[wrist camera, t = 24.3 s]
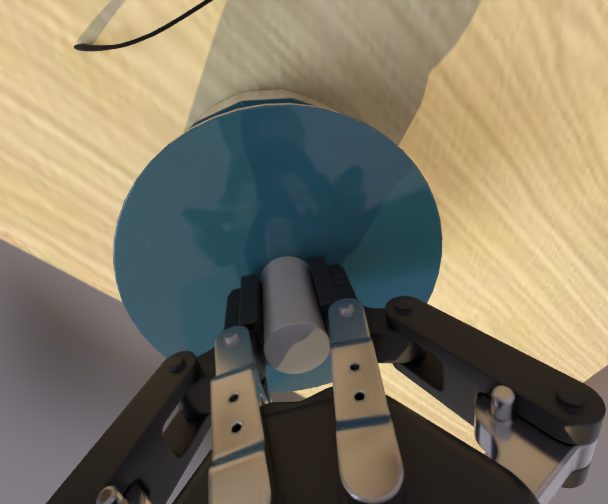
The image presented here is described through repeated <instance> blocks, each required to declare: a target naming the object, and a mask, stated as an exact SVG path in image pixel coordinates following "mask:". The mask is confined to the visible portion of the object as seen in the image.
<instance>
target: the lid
mask: <svg viewBox="0 0 608 504" xmlns="http://www.w3.org/2000/svg"><path fill="white" fill-rule="evenodd" d="M321 256H323V257H324V260H325V263H326V265H327V266H328V265H332V264H336V263H337V264H339V265H340V266H342V267H343V268H344V270H345V272H346V274H347V276H348V279H349V281H350V283H351V286H352V288H353V290H354V292H355V295H356V297H357V299H358V300H359V301H360V302H361V303H362V304H363V305H364V306H366V307H370V308H385V306H386V304H387V302H388V301H389V300H391V299H393V298H395V297H399V296H411V297H414V298H417V299H419V300H421V301H423V302H425V303H428V300H429V298H430V296H431V294H432V292H433V289H434V286H435V283H436V280H437V277H438V274H439V268H440V263H441V257H442V231H441V222H440V217H439V213H438V209H437V205H436V202H435V199H434V197H433V194H432V192H431V190H430V188H429V185H428V183H427V181H426V180H425V178H424V177H423V175H422V174H421V172H420V171H419V169H418V167H417V166H416V165H415V163H414V162H413V161H412V160H411V159H410V158H409V157H408V156H407V154H406V153H405V152H404V151H403V150H402V149H401V148H400V147H399V146H397V145H396V144H395V143H394V142H393V141H391V140H390V139H389V138H388V137H387V136H385V135H384V134H382V133H381V132H379V131H377V130H376V129H374V128H372V127H371V126H369V125H367V124H366V123H364V122H362V121H360V120H358V119H355V118H353V117H350V116H348V115H346V114H343V113H341V112H338V111H334V110H330V109H326V108H322V107H318V106H313V105H304V104H294V103H277V104H261V105H255V106H250V107H244V108H239V109H235V110H232V111H229V112H226V113H223V114H220V115H217V116H214V117H212V118H210V119H208V120H206V121H204V122H202V123H200V124H198V125H196V126H194V127H192V128H190V129H189V130H187V131H186V132H185V133H183V134H182V135H180V136H179V137H177V138H176V139H174V140H173V141H172V142H170V143H169V144H168V145H167V146H166V147H165V148H164V149H163V150H162V151H161V152H160V153H159V154H158V155H157V156H156V157H154V158H153V159H152V160H151V161H150V162H149V164H148V165H147V166H146V168H145V169H144V170H143V171H142V173H141V174H140V175H139V177H138V178H137V179H136V181H135V182H134V184H133V186H132V188H131V190H130V191H129V193H128V195H127V197H126V199H125V201H124V204H123V206H122V209H121V212H120V215H119V218H118V221H117V225H116V231H115V237H114V246H113V264H114V271H115V277H116V283H117V286H118V290H119V293H120V296H121V299H122V302H123V304H124V306H125V308H126V310H127V312H128V314H129V316H130V318H131V319H132V321H133V322H134V324H135V325H136V327H137V328H138V330H139V331H140V333H141V334H142V335H143V336H144V337H145V338H146V340H147V341H148V342H149V343H150V344H151V345H152V346H153V347H154V348H155V349H156V350H158V352H160V353H161V354H162V355H163V356H164V357H166V358H168V357H170V356H171V355H173V354H175V353H178V352H181V351H191V352H193V353H194V354H195V356H196V357H197V356H199V355H201V354H203V353H205V352H207V351H209V350H211V349H212V348H214V347H215V339H216V338H217V336H218V335H219V334H220V333H221V332H222V331H224V322H225V314H226V306H227V297H228V296H229V294H230V293H231V291H232V290H234V289H238V288H240V286H241V277H242V276H246V275H250V274H254V273H257V274H258V276H259V279H260V282H261V293H262V324H263V352H264V357H265V359H266V361H267V362H268V363H269V364H270V365H268V366H266V377H267V380H268V385H269V389H270V392H288V391H296V390H303V389H308V388H313V387H318V386H321V385H324V384H328V383H331V382H333V380H332V369H331V358H330V344H331V342H330V338H329V334H328V330H327V327H326V324H325V322H324V318H323V314H322V311H321V307H320V303H319V300H318V296H317V292H316V289H315V285H314V281H313V278H312V274H311V270H310V266H309V262H308V260H309V259H313V258H317V257H321Z"/></svg>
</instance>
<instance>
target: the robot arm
mask: <svg viewBox="0 0 608 504" xmlns="http://www.w3.org/2000/svg"><path fill="white" fill-rule="evenodd" d="M308 262H309V266H310V270H311V274H312V278H313V281H314V285H315V289H316V292H317V296H318V300H319V303H320V307H321V311H322V314H323V318H324V322H325V324H326V327H327V330H328V334H329V338H330V342H331V344H330V358H331V369H332V380H333V387H329V388H327V389H325V390H323V391H321V392H319V393H317V394H315V395H313V396H311V397H309V398H307V399H305V400H303V401H299V402H272V399H271V394H270V389H269V385H268V380H267V377H266V366H268V365H270V364H269V363H268V362H267V361H266V359H265V357H264V352H263V324H262V293H261V282H260V279H259V276H258V274H257V273H254V274H250V275H246V276H242V277H241V286H240V288H238V289H234V290H232V291H231V293H230V294H229V296H228V297H227V306H226V314H225V322H224V331H222V332H221V333H220V334H219V335H218V336H217V338H216V339H215V347H214V348H212V349H211V350H209V351H207V352H205V353H203V354H201V355H199V356H197V357H196V356H195V354H194V353H193V352H191V351H181V352H178V353H175V354H173V355H171V356H170V357H168V358H167V359H166V360H165V361H164V362H163V363H162V364H161V366H160V367H159V368H158V369H157V370H156V372H155V373H154V374H153V375H152V376H151V378H150V379H149V380H148V381H147V382H146V384H145V385H144V386H143V387H142V388H141V390H140V391H139V392H138V393H137V395H136V396H135V397H134V398H133V399H132V401H131V402H130V403H129V404H128V405H127V407H126V408H125V409H124V410H123V412H122V413H121V414H120V415H119V416H118V418H117V419H116V420H115V421H114V422H113V423H112V425H111V426H110V427H109V428H108V429H107V431H106V432H105V433H104V434H103V436H102V437H101V438H100V439H99V441H98V442H97V443H96V444H95V445H94V446H93V448H92V449H91V450H90V451H89V452H88V454H87V455H86V456H85V457H84V458H83V460H82V461H81V462H80V463H79V464H78V466H77V467H76V468H75V469H74V470H73V472H72V473H71V474H70V475H69V476H68V478H67V479H66V480H65V481H64V482H63V484H62V485H61V486H60V487H59V488H58V490H57V491H56V492H55V493H54V495H53V496H52V497H51V498H50V499H49V501H48V502H47V503H46V504H166V502H167V500H168V499H169V497H170V495H171V493H172V492H173V490H174V488H175V487H176V485H177V483H178V482H179V480H180V478H181V476H182V475H183V473H184V471H185V470H186V468H187V466H188V464H189V463H190V461H191V459H192V457H193V456H194V454H195V452H196V451H197V449H198V447H199V446H200V444H201V442H202V441H203V439H204V437H205V435H206V434H207V432H208V430H209V429H210V427H211V436H212V449H211V450H210V452H209V453H208V454H207V456H206V457H205V458H204V460H203V461H202V463H201V464H200V465H199V467H198V468H197V470H196V471H195V472H194V474H193V475H192V477H191V478H190V479H189V481H188V482H187V484H186V485H185V487H184V488H183V489H182V490H181V492H180V493H179V495H178V496H177V497H176V499H175V500H174V502H173V503H172V504H548V503H549V501H550V500H551V499H552V497H553V496H554V495H555V493H556V492H557V491H558V489H559V488H560V487H563V488H574V487H578V486H580V485H581V484H583V483H584V481H585V480H586V477H587V474H588V470H589V467H590V463H591V460H592V457H593V453H594V450H595V446H596V443H597V439H598V436H599V433H600V429H601V426H602V422H603V419H604V416H605V411H606V408H605V404H604V402H603V400H602V398H601V397H600V396H599V395H598V393H596V392H595V391H594V390H593V389H592V388H590V387H589V386H587V385H585V384H584V383H582V382H580V381H578V380H576V379H574V378H572V377H570V376H568V375H566V374H564V373H562V372H560V371H558V370H556V369H554V368H552V367H550V366H548V365H546V364H544V363H542V362H540V361H538V360H537V359H535V358H533V357H531V356H529V355H527V354H525V353H523V352H521V351H519V350H517V349H515V348H513V347H511V346H509V345H507V344H505V343H503V342H501V341H499V340H497V339H495V338H493V337H491V336H489V335H487V334H485V333H484V332H482V331H480V330H478V329H476V328H474V327H472V326H470V325H468V324H466V323H464V322H462V321H460V320H458V319H456V318H454V317H452V316H450V315H448V314H446V313H444V312H442V311H440V310H438V309H436V308H434V307H432V306H431V305H429V304H427V303H425V302H423V301H421V300H419V299H417V298H414V297H411V296H399V297H395V298H393V299H391V300H389V301H388V302H387V304H386V306H385V308H370V307H366V306H364V305H363V304H362V303H361V302H360V301H359V300H358V299H357V297H356V295H355V292H354V290H353V288H352V286H351V283H350V281H349V279H348V276H347V274H346V272H345V270H344V268H343V267H342V266H340V265H339V264H337V263H336V264H332V265H328V266H327V265H326V263H325V260H324V257H323V256H321V257H317V258H313V259H309V260H308ZM378 363H393V365H394V367H395V368H396V369H397V370H398V371H400V372H401V373H402V374H404V375H405V376H406V377H408V378H409V379H410V380H412V381H413V382H414V383H416V384H417V385H419V386H420V387H421V388H423V389H424V390H425V391H427V392H428V393H429V394H431V395H432V396H433V397H435V398H436V399H437V400H439V401H440V402H441V403H443V404H444V405H445V406H447V407H448V408H449V409H451V410H452V411H453V412H455V413H456V414H457V415H459V416H460V417H461V418H463V419H464V420H465V421H467V422H468V423H470V424H471V425H472V426H474V435H475V438H476V441H477V442H478V444H479V445H480V447H481V448H482V449H483V450H484V451H485V452H486V453H487V454H488V455H489V456H490V457H491V458H489V457H488V456H486V455H484V454H483V453H481V452H479V451H478V450H476V449H475V448H473V447H471V446H470V445H468V444H466V443H465V442H463V441H462V440H460V439H458V438H457V437H455V436H453V435H452V434H450V433H448V432H447V431H445V430H444V429H442V428H440V427H439V426H437V425H435V424H434V423H432V422H431V421H429V420H427V419H426V418H424V417H422V416H421V415H419V414H417V413H416V412H414V411H413V410H411V409H409V408H408V407H406V406H404V405H403V404H401V403H399V402H398V401H396V400H395V399H393V398H391V397H389V396H387V395H385V391H384V387H383V383H382V379H381V374H380V370H379V366H378ZM177 405H178V407H179V408H180V410H179V411H178V413H177V414H176V415H175V417H174V418H173V420H172V421H171V423H170V424H169V426H168V427H167V428H166V430H165V431H164V433H162V431H163V426H164V424H165V422H166V420H167V419H168V418H169V416H170V415H171V413H172V412H173V410H174V409H175V408H176V406H177Z"/></svg>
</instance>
